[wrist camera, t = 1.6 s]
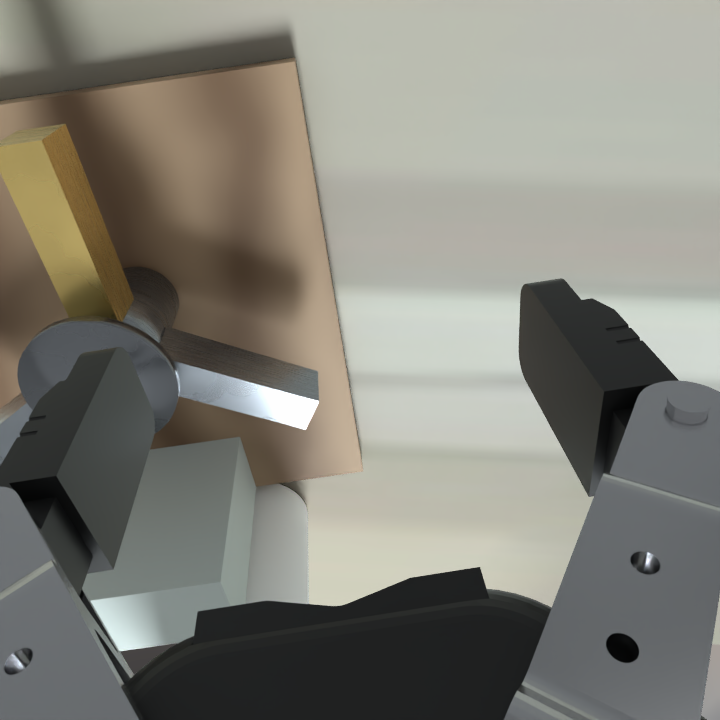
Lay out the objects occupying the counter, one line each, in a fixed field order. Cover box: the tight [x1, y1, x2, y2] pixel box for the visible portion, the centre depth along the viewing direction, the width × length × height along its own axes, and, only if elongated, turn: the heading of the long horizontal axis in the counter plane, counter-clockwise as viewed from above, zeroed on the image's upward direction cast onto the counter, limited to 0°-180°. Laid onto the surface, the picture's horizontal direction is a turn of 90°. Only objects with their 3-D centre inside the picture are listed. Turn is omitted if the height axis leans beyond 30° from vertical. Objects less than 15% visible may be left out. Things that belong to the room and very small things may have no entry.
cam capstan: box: [0, 124, 319, 465], centre depth 25 cm, size 16×14×7 cm
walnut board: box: [0, 58, 363, 487], centre depth 31 cm, size 21×24×1 cm
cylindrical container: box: [245, 484, 309, 604], centre depth 31 cm, size 7×7×25 cm
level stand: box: [82, 437, 256, 651], centre depth 32 cm, size 10×4×10 cm, turn 97°
